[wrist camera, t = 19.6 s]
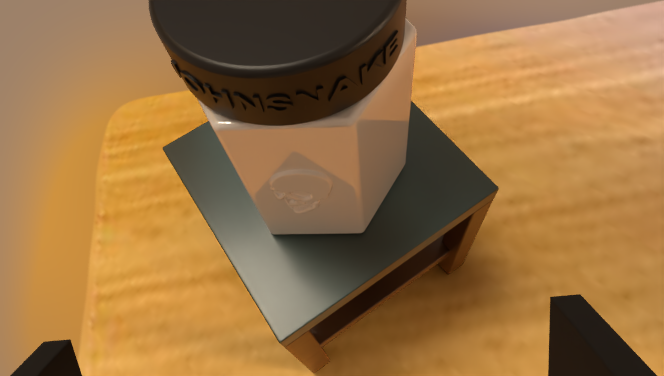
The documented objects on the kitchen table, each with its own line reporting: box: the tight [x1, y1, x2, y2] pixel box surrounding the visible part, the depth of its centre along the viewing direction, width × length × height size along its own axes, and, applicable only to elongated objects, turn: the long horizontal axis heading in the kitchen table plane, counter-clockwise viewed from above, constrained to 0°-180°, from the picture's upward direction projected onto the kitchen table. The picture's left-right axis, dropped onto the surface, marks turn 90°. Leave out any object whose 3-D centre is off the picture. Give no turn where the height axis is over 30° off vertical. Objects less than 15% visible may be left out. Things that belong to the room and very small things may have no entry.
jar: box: [149, 0, 417, 235], centre depth 20 cm, size 9×8×12 cm
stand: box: [163, 101, 499, 373], centre depth 30 cm, size 13×13×12 cm
